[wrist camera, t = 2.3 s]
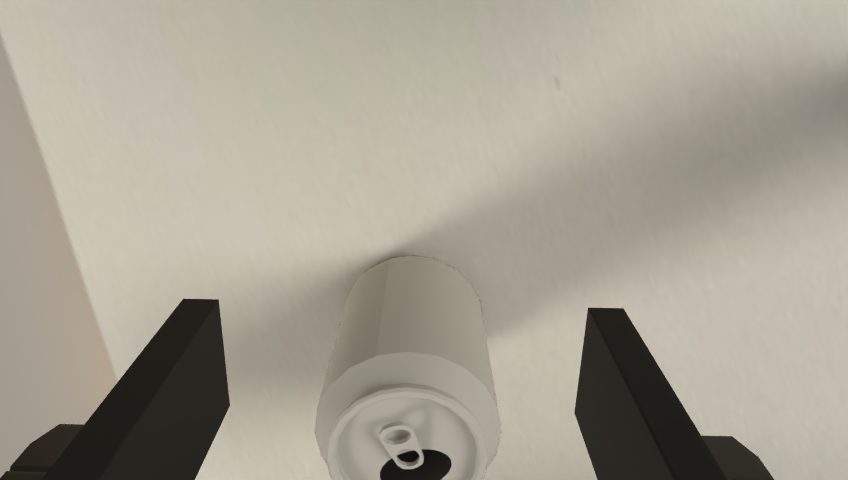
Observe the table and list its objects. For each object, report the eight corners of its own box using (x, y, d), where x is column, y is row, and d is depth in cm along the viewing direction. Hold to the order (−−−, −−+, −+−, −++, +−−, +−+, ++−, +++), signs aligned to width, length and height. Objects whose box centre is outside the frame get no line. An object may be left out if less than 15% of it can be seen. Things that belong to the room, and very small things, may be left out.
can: (372, 384, 37) (348, 555, 26) (324, 272, 34) (275, 409, 23) (497, 349, 36) (528, 511, 25) (457, 231, 34) (473, 353, 22)
